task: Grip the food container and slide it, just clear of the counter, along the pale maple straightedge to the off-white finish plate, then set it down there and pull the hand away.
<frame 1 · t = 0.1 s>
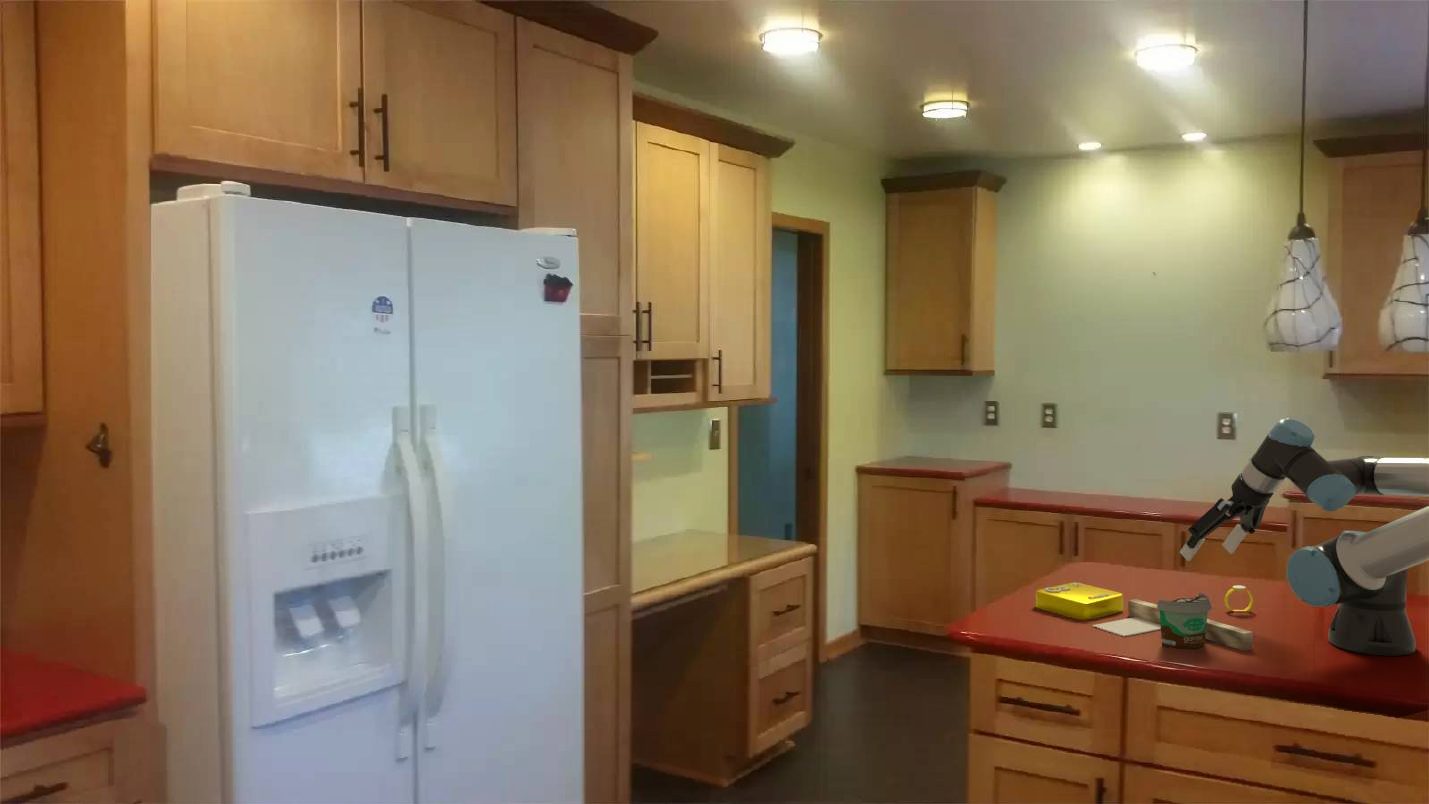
hand: (1206, 552, 236), 15 cm above the countertop, tool tilted 35°, fingers open, 13 cm apart
finish plate: (1129, 627, 233), on the countertop
maple straightedge: (1186, 631, 230), on the countertop
food container: (1190, 647, 219), on the countertop
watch: (1239, 612, 244), on the countertop
element tile: (1078, 611, 249), on the countertop
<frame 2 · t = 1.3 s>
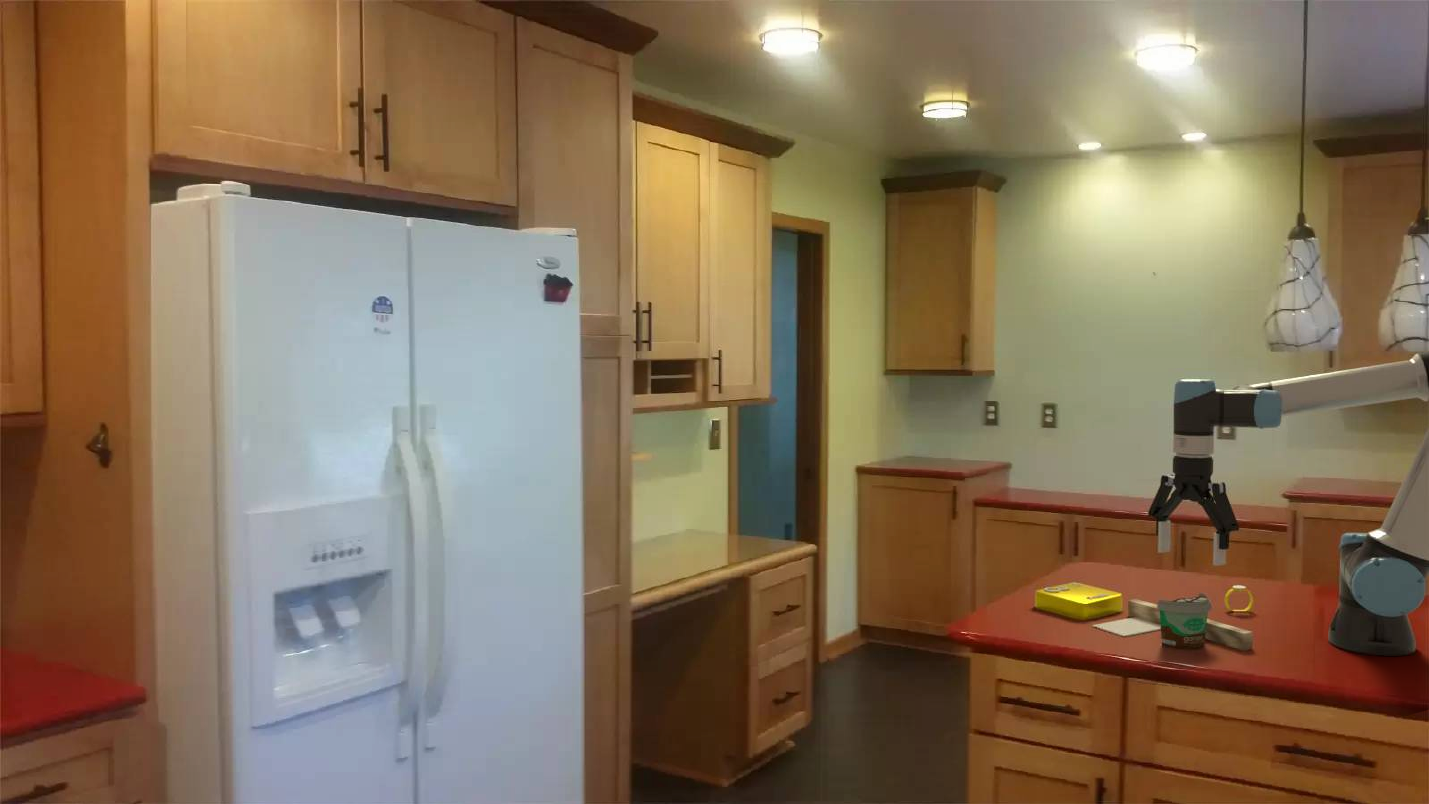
hand: (1191, 558, 218), 18 cm above the countertop, tool pointing down, fingers open, 13 cm apart
nothing on the countertop moved.
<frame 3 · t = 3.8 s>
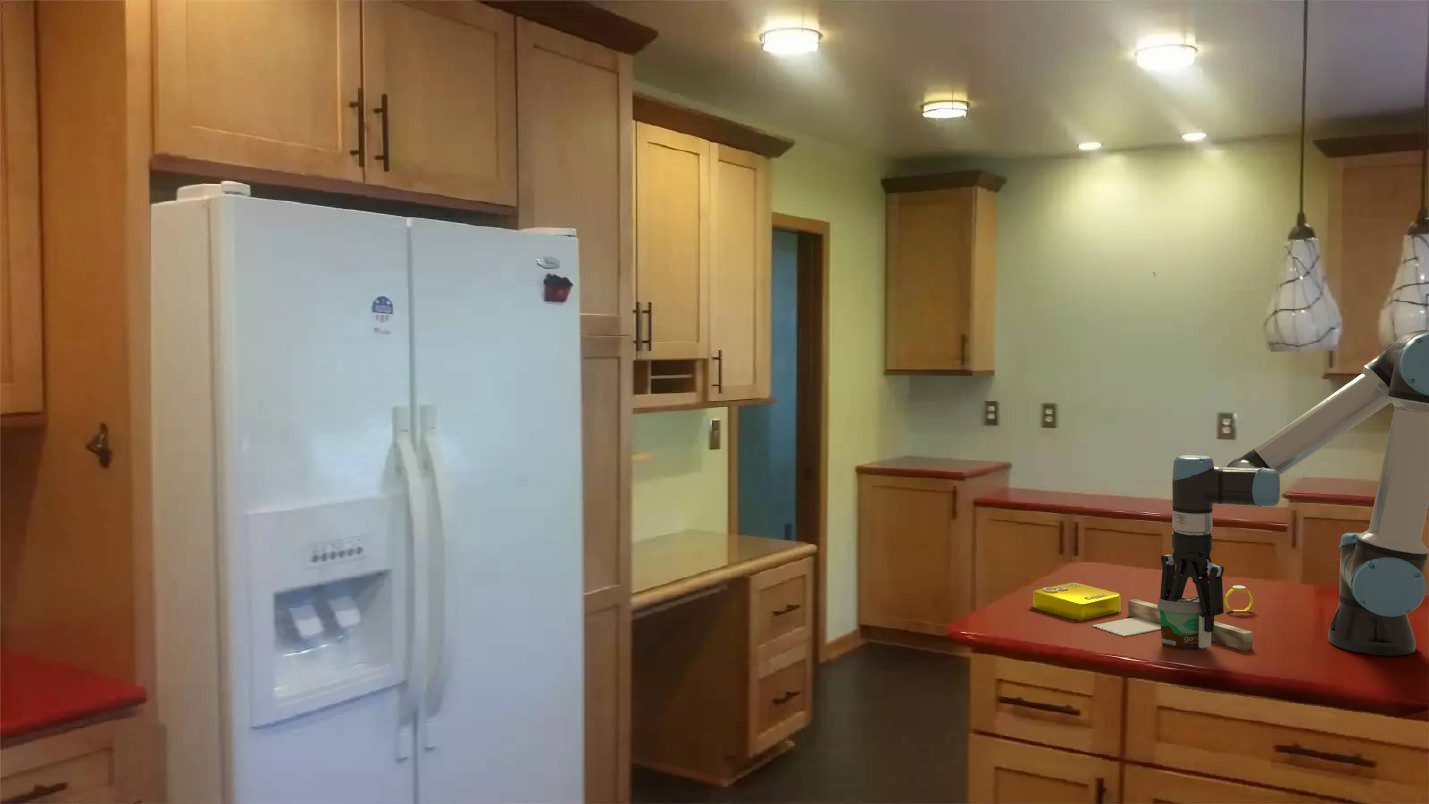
hand: (1190, 642, 219), 1 cm above the countertop, tool pointing down, fingers closed on food container, 6 cm apart
food container: (1190, 647, 219), on the countertop, touching gripper
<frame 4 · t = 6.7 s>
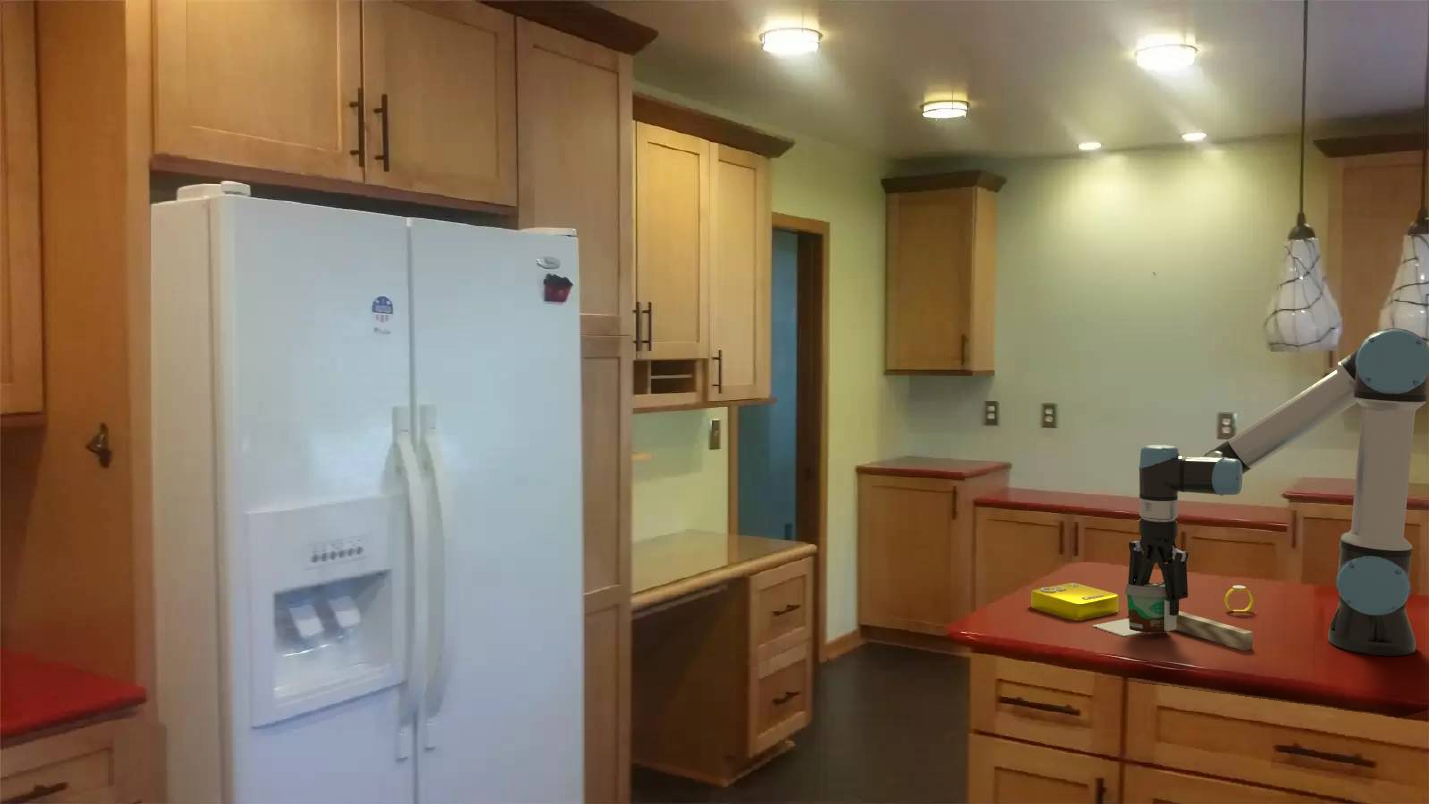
hand: (1156, 625, 226), 2 cm above the countertop, tool pointing down, fingers closed on food container, 6 cm apart
food container: (1157, 630, 226), point 1 cm above the countertop, touching gripper
when the fingers open (2 cm above the countertop, at t = 9.5 s): food container stays where it is, resting on finish plate.
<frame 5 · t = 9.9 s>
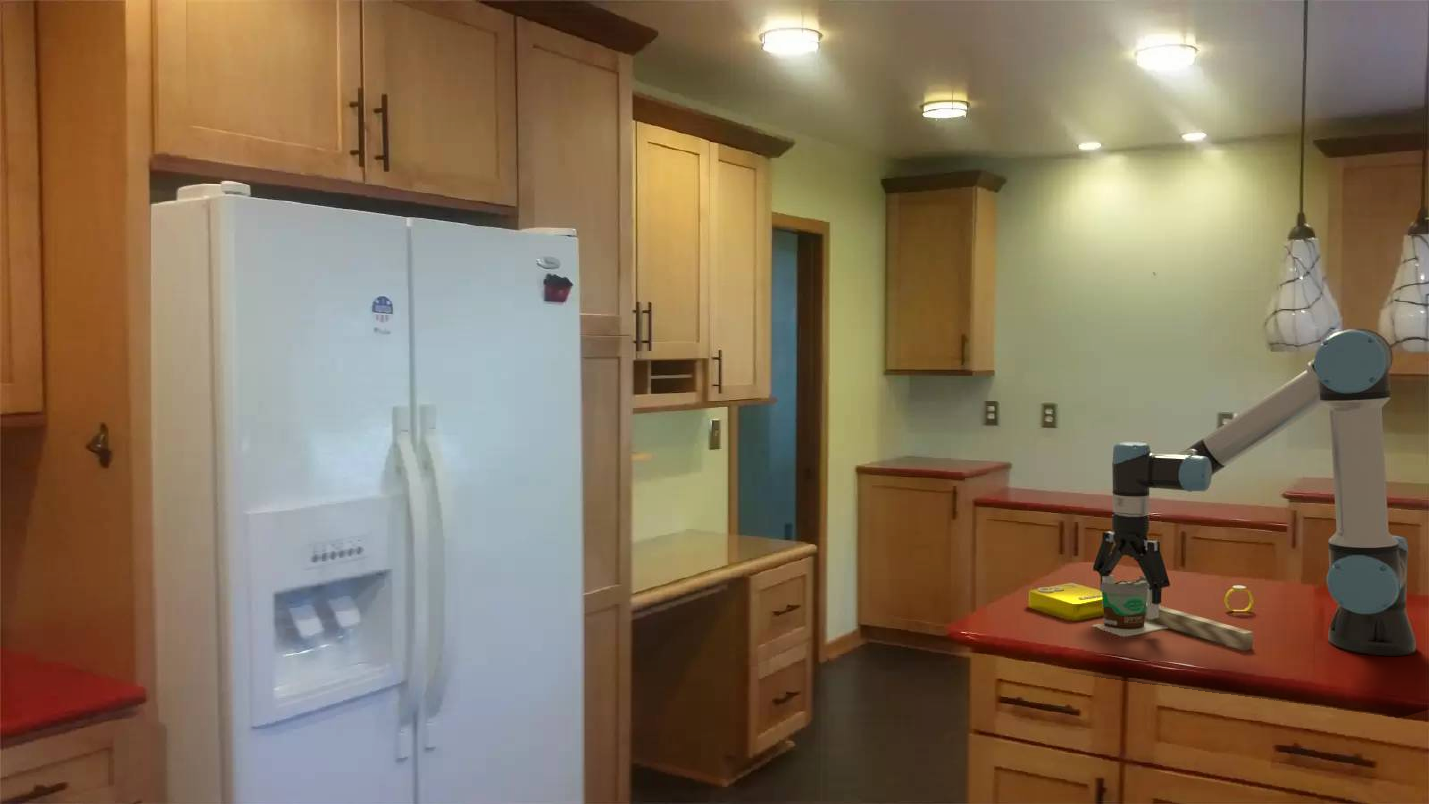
hand: (1129, 611, 233), 4 cm above the countertop, tool pointing down, fingers open, 12 cm apart
food container: (1131, 627, 233), resting on finish plate
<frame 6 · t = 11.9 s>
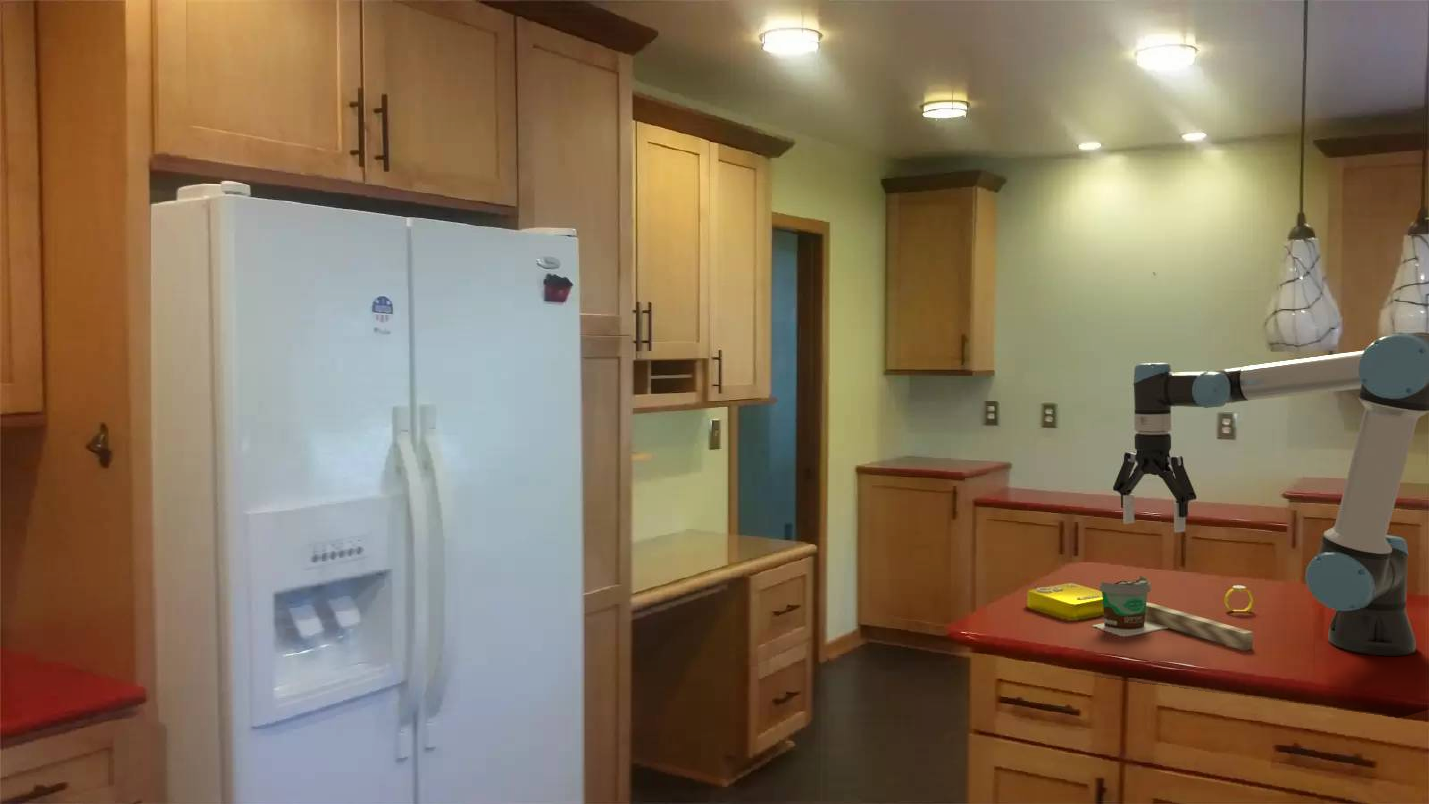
hand: (1153, 527, 237), 21 cm above the countertop, tool pointing down, fingers open, 13 cm apart
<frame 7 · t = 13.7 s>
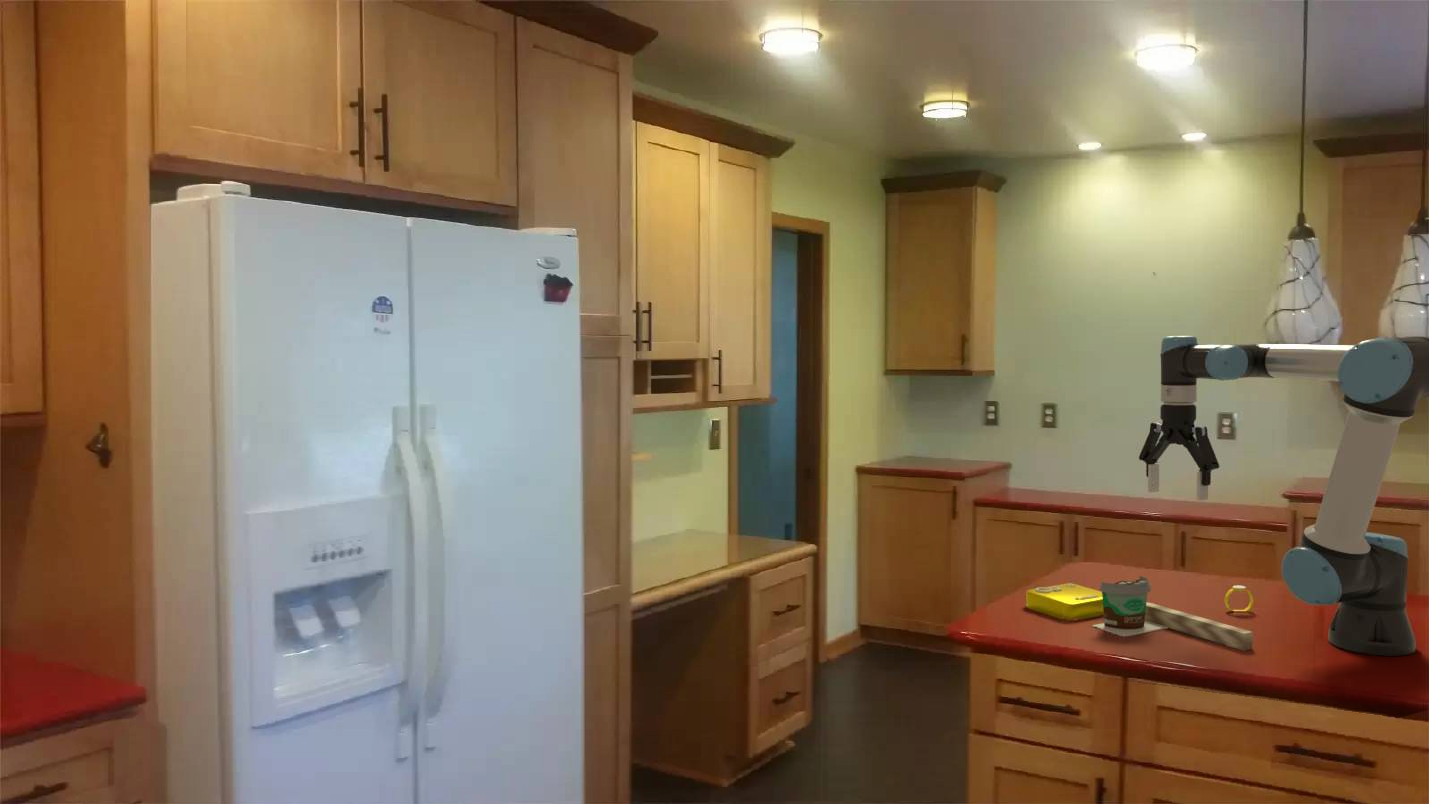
hand: (1177, 495, 244), 27 cm above the countertop, tool pointing down, fingers open, 13 cm apart
at the end: food container inside the target area (0.4 cm from its centre), resting on finish plate; food container tilted 0°; the gripper is holding nothing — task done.
